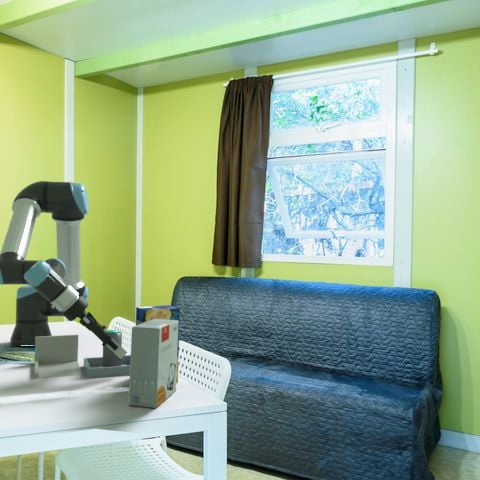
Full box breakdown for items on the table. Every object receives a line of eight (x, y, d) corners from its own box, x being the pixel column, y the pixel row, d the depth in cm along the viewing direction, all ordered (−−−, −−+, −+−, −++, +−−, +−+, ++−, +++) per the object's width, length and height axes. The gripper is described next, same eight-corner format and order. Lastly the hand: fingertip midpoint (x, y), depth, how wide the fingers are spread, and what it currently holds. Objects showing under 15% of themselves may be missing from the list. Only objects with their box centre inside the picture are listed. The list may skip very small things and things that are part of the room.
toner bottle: (101, 370, 150) (102, 329, 150) (119, 368, 152) (120, 329, 152) (103, 374, 145) (104, 333, 145) (122, 373, 147) (123, 332, 147)
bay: (34, 367, 153) (35, 336, 153) (77, 364, 158) (78, 334, 158) (34, 383, 137) (35, 348, 137) (82, 379, 142) (83, 345, 142)
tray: (83, 370, 151) (83, 358, 151) (133, 366, 158) (133, 354, 158) (87, 382, 139) (88, 369, 139) (141, 378, 145) (142, 364, 145)
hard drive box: (156, 409, 119) (158, 328, 119) (127, 406, 120) (129, 327, 120) (177, 390, 134) (178, 319, 134) (151, 388, 136) (153, 317, 136)
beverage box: (133, 381, 141) (135, 307, 141) (167, 376, 148) (169, 305, 148) (144, 388, 136) (146, 310, 136) (178, 382, 142) (180, 307, 142)
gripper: (58, 307, 154) (105, 350, 160) (63, 319, 131) (117, 370, 137) (76, 290, 156) (122, 334, 162) (84, 299, 133) (136, 350, 139)
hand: (120, 350), depth 149 cm, fingers open, 13 cm apart
